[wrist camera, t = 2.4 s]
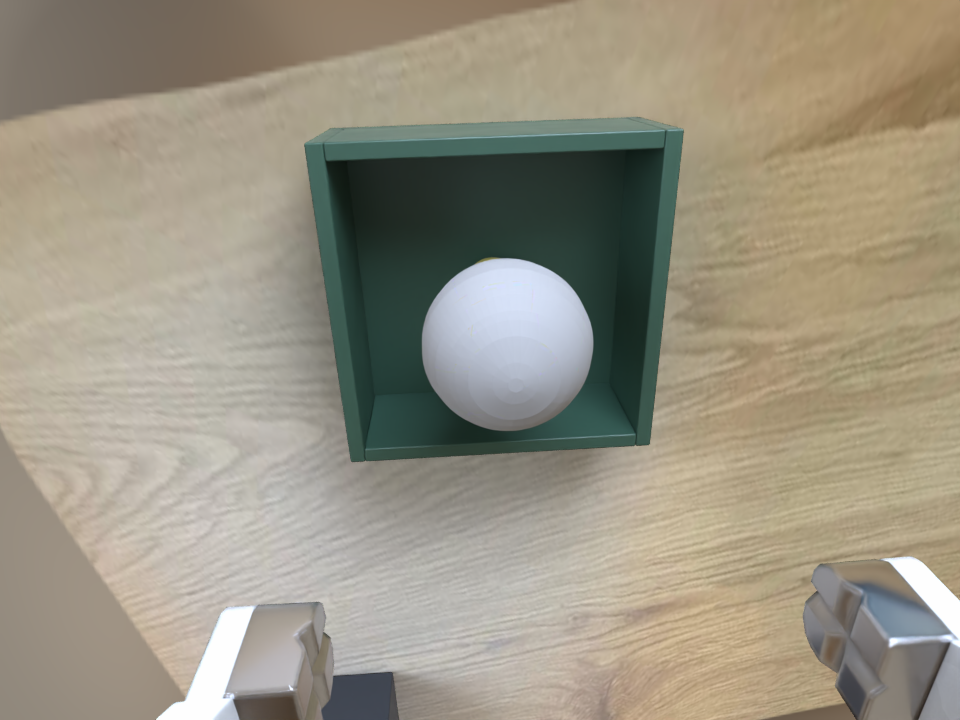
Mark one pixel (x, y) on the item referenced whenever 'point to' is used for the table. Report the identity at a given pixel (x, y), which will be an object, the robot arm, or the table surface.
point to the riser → (362, 698)
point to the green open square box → (493, 233)
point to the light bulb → (507, 344)
